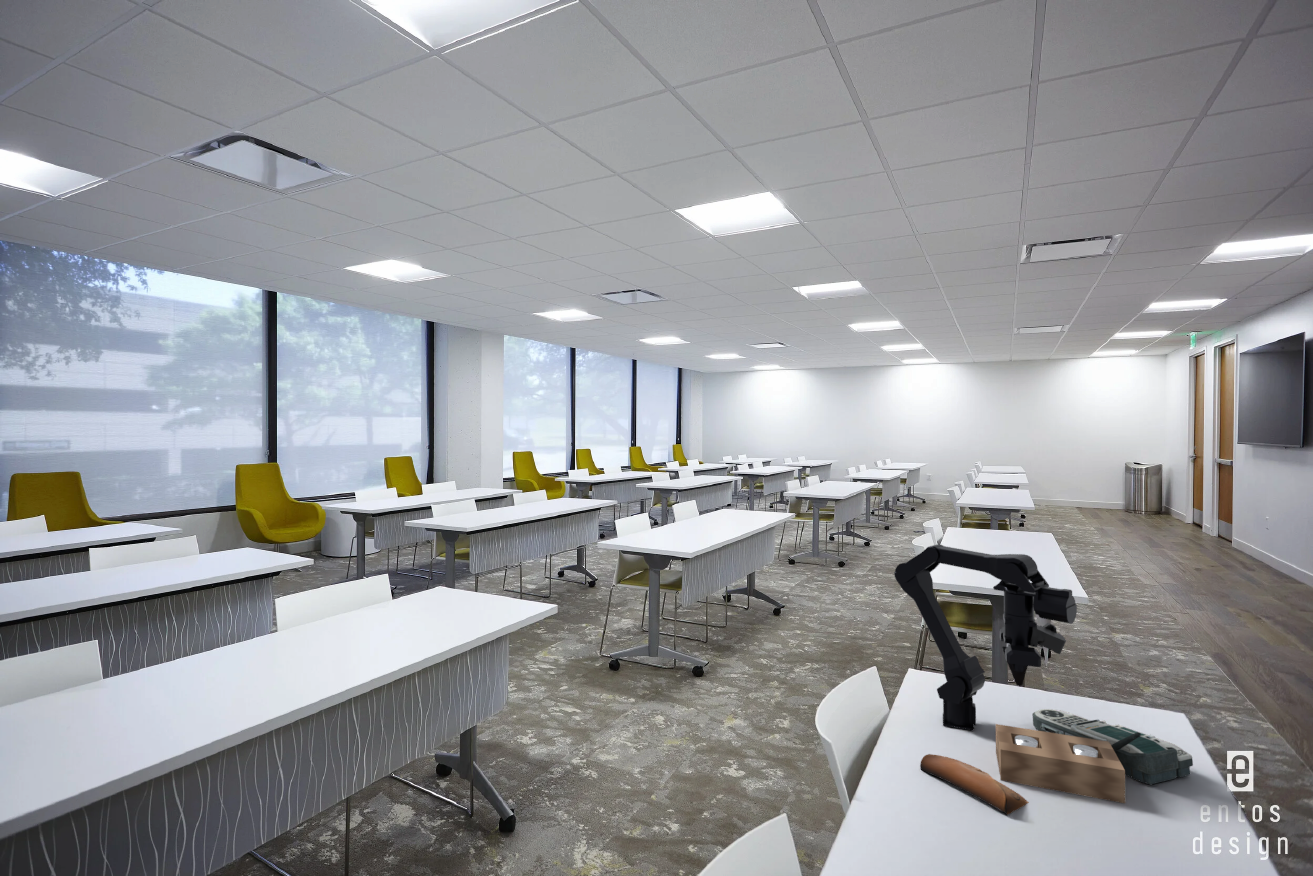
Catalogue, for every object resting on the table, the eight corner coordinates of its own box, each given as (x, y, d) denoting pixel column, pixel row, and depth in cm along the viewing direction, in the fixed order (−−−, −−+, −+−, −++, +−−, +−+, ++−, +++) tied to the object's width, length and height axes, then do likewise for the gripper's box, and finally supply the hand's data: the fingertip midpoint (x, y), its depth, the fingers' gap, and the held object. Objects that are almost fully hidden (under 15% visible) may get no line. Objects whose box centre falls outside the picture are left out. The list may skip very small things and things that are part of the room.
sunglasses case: (1033, 802, 116) (1022, 775, 114) (1014, 832, 113) (1002, 805, 111) (946, 759, 131) (935, 736, 130) (927, 785, 128) (915, 761, 127)
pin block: (1000, 780, 123) (1000, 749, 123) (995, 752, 134) (995, 724, 134) (1125, 803, 115) (1125, 770, 115) (1109, 771, 126) (1108, 741, 126)
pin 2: (1075, 783, 122) (1075, 752, 122) (1071, 773, 125) (1071, 743, 125) (1100, 788, 120) (1100, 756, 120) (1095, 777, 124) (1095, 747, 124)
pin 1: (1016, 772, 126) (1015, 742, 126) (1014, 763, 130) (1013, 734, 130) (1039, 777, 124) (1039, 746, 124) (1036, 767, 128) (1036, 737, 128)
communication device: (1063, 720, 151) (1063, 676, 151) (1196, 779, 124) (1195, 725, 124) (1017, 728, 146) (1016, 683, 147) (1144, 791, 120) (1143, 735, 120)
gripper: (1070, 629, 126) (1070, 708, 126) (1055, 606, 143) (1055, 675, 143) (1006, 623, 131) (1007, 698, 131) (999, 601, 148) (999, 668, 148)
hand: (1019, 685), depth 138 cm, fingers closed
